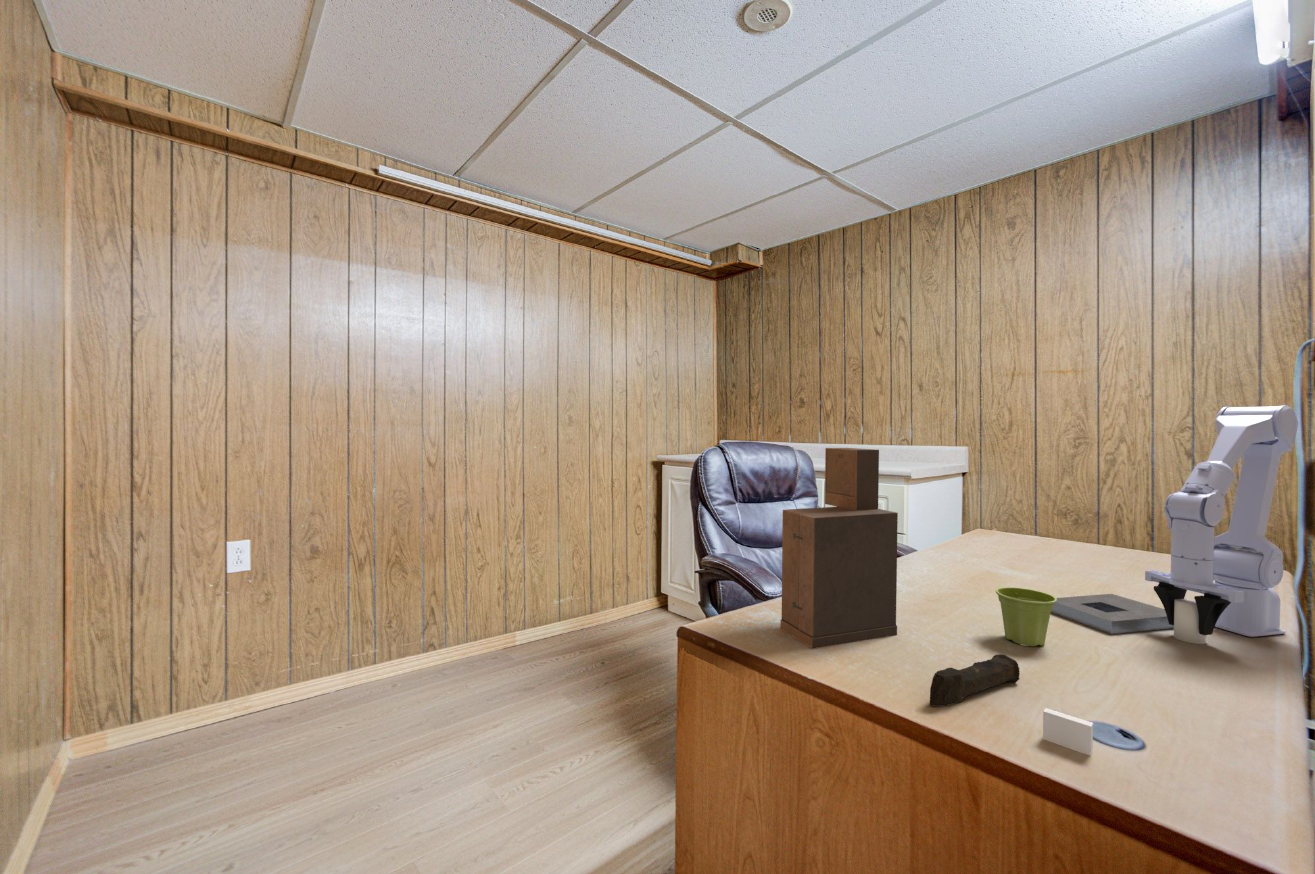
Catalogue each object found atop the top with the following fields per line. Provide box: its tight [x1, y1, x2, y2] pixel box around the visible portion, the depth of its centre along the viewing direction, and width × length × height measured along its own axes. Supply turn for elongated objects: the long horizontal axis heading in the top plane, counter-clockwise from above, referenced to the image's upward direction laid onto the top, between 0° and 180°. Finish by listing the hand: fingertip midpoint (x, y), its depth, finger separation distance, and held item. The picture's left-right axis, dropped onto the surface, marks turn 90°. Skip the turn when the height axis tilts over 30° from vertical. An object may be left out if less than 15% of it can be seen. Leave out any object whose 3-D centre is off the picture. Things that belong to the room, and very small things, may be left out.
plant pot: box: [995, 586, 1058, 647], centre depth 102 cm, size 9×9×9 cm
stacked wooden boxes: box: [779, 447, 899, 649], centre depth 107 cm, size 19×14×35 cm
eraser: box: [1042, 707, 1094, 756], centre depth 68 cm, size 1×5×4 cm, turn 43°
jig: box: [1050, 593, 1174, 635], centre depth 114 cm, size 18×14×2 cm
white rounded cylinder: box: [1173, 598, 1207, 645], centre depth 103 cm, size 4×4×7 cm
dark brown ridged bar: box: [929, 653, 1020, 707], centre depth 82 cm, size 19×4×5 cm, turn 116°
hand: (1189, 629), depth 103 cm, fingers closed on white rounded cylinder, 4 cm apart
